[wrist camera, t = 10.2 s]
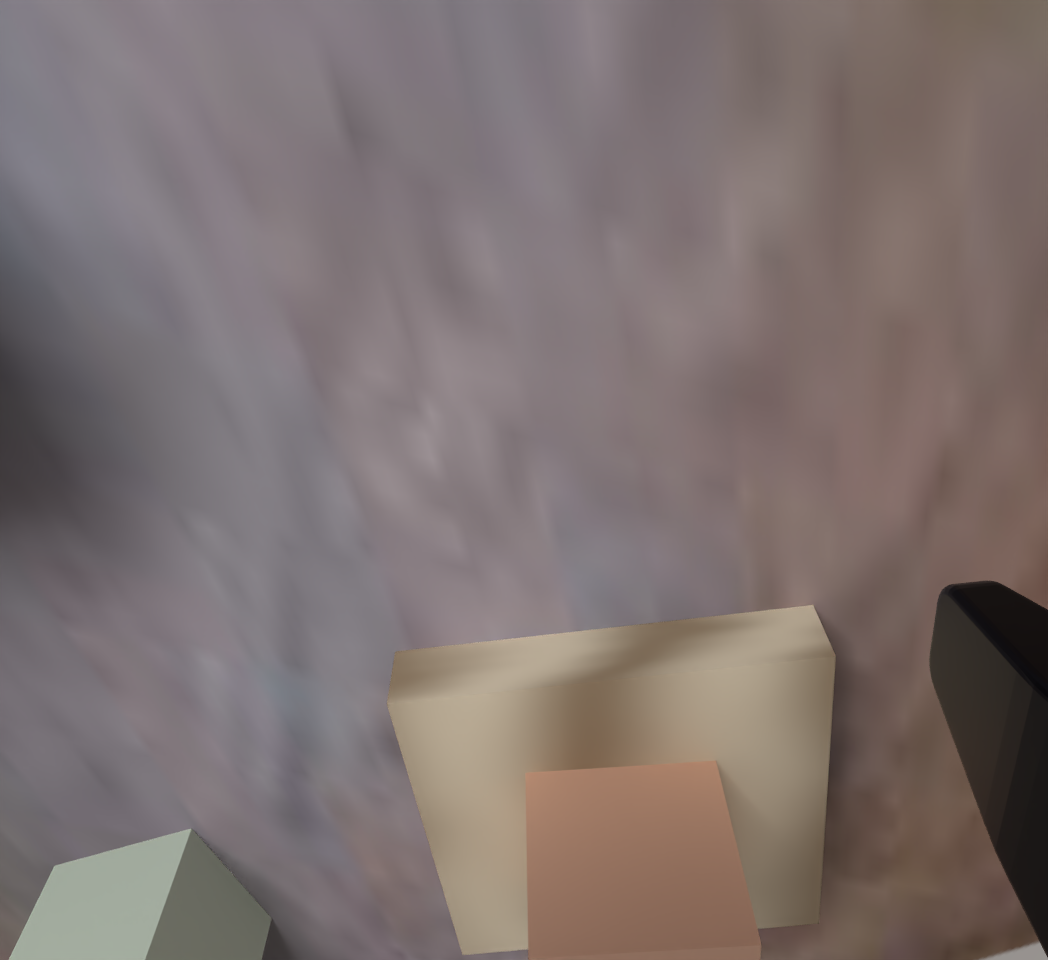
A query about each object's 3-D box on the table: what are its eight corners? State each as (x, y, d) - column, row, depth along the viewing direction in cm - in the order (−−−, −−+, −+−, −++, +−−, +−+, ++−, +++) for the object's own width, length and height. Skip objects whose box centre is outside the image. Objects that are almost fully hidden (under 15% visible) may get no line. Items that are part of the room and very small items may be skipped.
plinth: (806, 590, 24) (835, 655, 21) (796, 851, 29) (819, 923, 27) (397, 636, 24) (386, 703, 22) (466, 882, 30) (462, 955, 28)
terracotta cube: (715, 760, 23) (761, 945, 19) (710, 878, 26) (749, 1063, 22) (525, 772, 24) (528, 958, 19) (539, 888, 26) (544, 1075, 22)
